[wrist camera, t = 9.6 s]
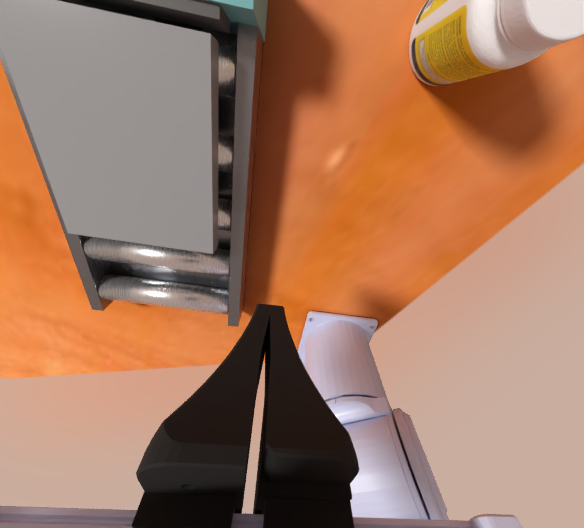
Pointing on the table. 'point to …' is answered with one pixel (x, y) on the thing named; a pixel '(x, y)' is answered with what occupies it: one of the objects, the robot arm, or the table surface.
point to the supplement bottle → (487, 35)
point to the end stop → (199, 12)
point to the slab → (120, 120)
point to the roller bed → (227, 182)
